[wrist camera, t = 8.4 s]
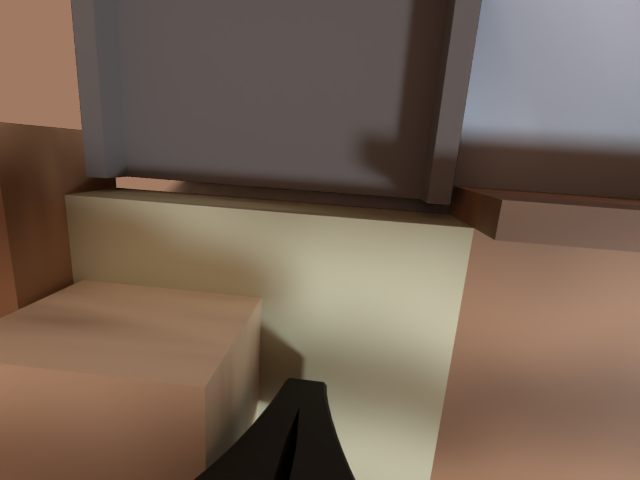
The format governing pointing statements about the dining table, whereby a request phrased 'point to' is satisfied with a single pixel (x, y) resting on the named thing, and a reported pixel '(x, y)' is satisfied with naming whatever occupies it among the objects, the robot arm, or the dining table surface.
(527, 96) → the dining table surface
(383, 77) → the grey flat board
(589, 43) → the dining table surface
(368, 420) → the brown tray with rims
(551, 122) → the dining table surface
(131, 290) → the cream block
